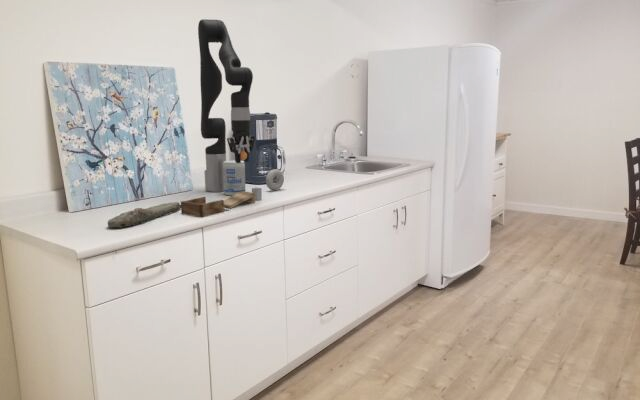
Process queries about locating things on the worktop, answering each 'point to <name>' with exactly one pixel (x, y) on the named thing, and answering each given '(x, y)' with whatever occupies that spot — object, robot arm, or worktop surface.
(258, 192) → the hollow grey box
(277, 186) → the donut
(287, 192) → the worktop surface
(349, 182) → the worktop surface
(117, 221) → the long grey stone
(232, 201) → the ramp
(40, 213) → the worktop surface
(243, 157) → the ball
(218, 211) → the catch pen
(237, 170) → the supplement tub
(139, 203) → the worktop surface
